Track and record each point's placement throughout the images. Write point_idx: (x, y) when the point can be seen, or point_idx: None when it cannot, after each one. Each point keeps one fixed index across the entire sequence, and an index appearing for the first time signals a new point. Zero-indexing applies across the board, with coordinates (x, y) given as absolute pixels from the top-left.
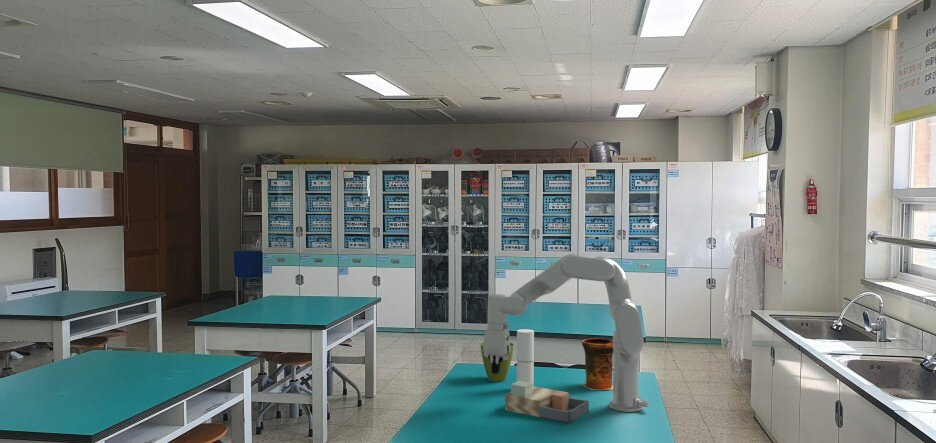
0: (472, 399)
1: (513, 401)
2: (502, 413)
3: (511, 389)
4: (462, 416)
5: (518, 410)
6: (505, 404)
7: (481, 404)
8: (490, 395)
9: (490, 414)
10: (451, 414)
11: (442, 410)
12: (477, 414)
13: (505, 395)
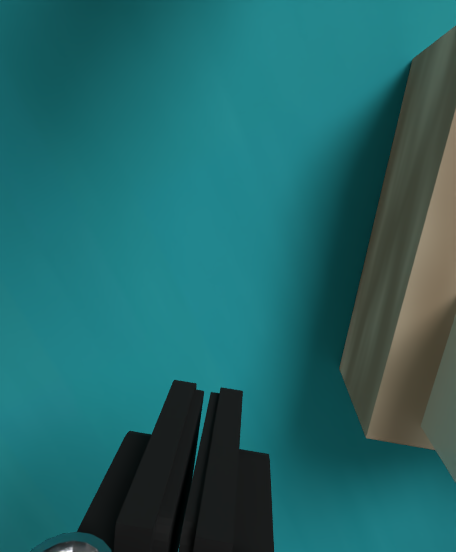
0: (39, 240)
1: None
2: (344, 430)
3: (447, 463)
4: None
5: None
6: (349, 388)
7: (147, 318)
8: (100, 76)
9: (281, 469)
10: None
11: (13, 496)
12: None
13: (366, 432)
